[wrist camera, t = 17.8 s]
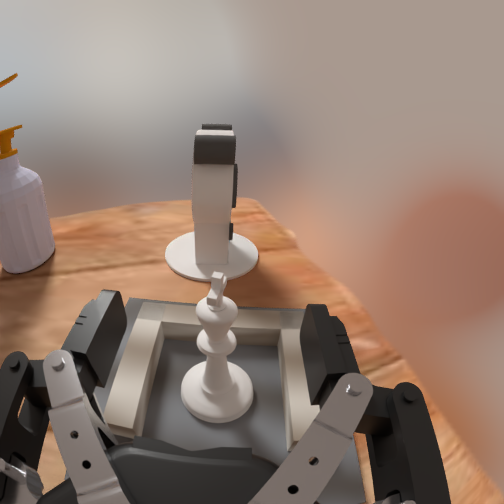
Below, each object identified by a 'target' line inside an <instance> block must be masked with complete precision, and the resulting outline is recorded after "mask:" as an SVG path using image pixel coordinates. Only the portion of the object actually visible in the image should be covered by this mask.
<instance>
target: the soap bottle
mask: <svg viewBox="0 0 504 504" xmlns="http://www.w3.org/2000/svg"><path fill="white" fill-rule="evenodd" d="M17 76H18V75H17V73H16V74H14V75H12V76H10V77H9V78H7V79H5V80H3V81H2V82H0V88H1V87H2V86H4V85H6V84H7V83H9V82H10V81H12V80H13V79H14V78H16V77H17ZM19 128H22V125H18V126H15V127H11V128H8V129H5V130H2V131H0V152H1V153H0V260H1V263H2V266H3V268H4V269H5V270H6V271H7V272H9V273H22V272H26V271H29V270H32V269H34V268H36V267H38V266H39V265H41V264H43V263H44V262H45V261H46V260H47V259H48V258H50V256H51V255H52V253H53V252H54V248H55V242H54V238H53V234H52V230H51V226H50V221H49V217H48V212H47V208H46V203H45V197H44V192H43V185H42V181H41V179H40V177H39V175H38V174H36V173H35V172H33V171H32V170H30V169H27V168H24V167H22V166H20V164H19V159H18V152H17V149H12V148H11V138H13V137H14V130H16V129H19Z"/></svg>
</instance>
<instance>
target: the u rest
mask: <svg viewBox="0 0 504 504" xmlns="http://www.w3.org/2000/svg"><path fill="white" fill-rule="evenodd" d="M196 306H197V304H192V303H180V302H169V301H158V300H148V299H138V298H129V300H128V302H127V304H126V306H125V312H126V316H127V328H126V331H125V334H124V336H123V339H122V341H121V344H120V347H119V349H118V352H117V355H116V357H115V360H114V363H113V366H112V368H111V371H110V374H109V377H108V380H107V383H106V386H105V388H102V387H97V386H96V387H95V390H94V394H95V396H96V398H97V401H98V403H99V406H100V408H101V411H102V413H103V415H104V417H105V420H106V422H107V424H108V426H109V428H110V430H111V432H112V434H113V435H114V437H115V438H116V440H117V442H118V443H119V444H121V443H125V442H133V441H134V436H135V435H136V436H141V437H146V438H151V439H157V440H162V441H165V442H167V443H170V444H173V445H175V446H178V447H181V448H183V449H186V450H189V451H196V450H204V449H211V448H218V447H241V448H252V454H256V455H259V456H262V457H265V458H267V459H269V460H271V461H273V462H275V463H276V464H278V465H279V466H281V464H282V463H283V462H284V460H285V459H286V458H287V457H288V455H289V454H290V453H291V451H292V450H293V449H294V447H295V446H296V445H297V443H298V442H299V440H300V439H301V438H302V436H303V435H304V433H305V432H306V431H307V429H308V428H309V426H310V425H311V423H312V422H313V420H314V419H315V418H316V416H317V415H318V413H319V412H320V408H319V405H311V404H310V398H309V392H308V386H307V380H306V374H305V368H304V363H303V357H302V352H301V346H300V328H301V325H302V321H303V317H304V314H305V310H306V309H284V308H258V307H238V306H237V308H238V314H237V317H236V319H235V321H234V323H233V324H232V325H231V327H230V330H231V331H232V332H233V334H234V335H235V338H236V341H237V344H236V348H235V349H234V351H233V352H232V353H230V354H229V355H227V356H226V357H227V361H228V362H231V363H233V364H235V365H237V366H239V367H240V368H242V369H243V370H244V371H245V372H246V373H247V374H248V376H249V378H250V379H251V382H252V385H253V401H252V404H251V406H250V407H249V409H248V410H247V411H246V412H245V413H244V414H243V415H242V416H241V417H239V418H237V419H235V420H233V421H230V422H225V423H211V422H206V421H203V420H201V419H199V418H197V417H195V416H194V415H193V414H191V413H190V412H189V411H188V410H187V408H186V407H185V405H184V403H183V401H182V398H181V385H182V381H183V378H184V376H185V375H186V373H187V372H188V371H189V370H190V369H191V368H192V367H194V366H195V365H197V364H199V363H201V362H204V361H206V360H207V355H205V354H203V353H202V352H201V351H200V350H199V348H198V346H197V337H198V335H199V333H200V332H201V331H202V330H203V329H204V328H203V326H202V324H201V323H200V321H199V319H198V317H197V315H196ZM69 477H70V476H69V474H68V471H67V470H66V475H65V480H66V479H68V478H69ZM316 501H318V502H319V503H320V504H361V503H364V502H366V499H365V493H364V488H363V482H362V477H361V472H360V466H359V461H358V456H357V452H356V447H355V442H354V437H353V435H352V442H351V444H350V446H349V448H348V450H347V452H346V454H345V455H344V457H343V459H342V461H341V462H340V464H339V466H338V467H337V469H336V470H335V472H334V474H333V475H332V477H331V478H330V480H329V482H328V483H327V485H326V486H325V488H324V489H323V491H322V492H321V494H320V495H319V496H318V498H317V499H316Z"/></svg>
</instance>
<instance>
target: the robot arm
mask: <svg viewBox="0 0 504 504" xmlns="http://www.w3.org/2000/svg"><path fill="white" fill-rule="evenodd" d="M126 328H127V316H126V312H125V308H124V305H123V301H122V297H121V294H120V292H119V291H113V290H105V289H104V290H102V291H101V292H100V294H99V296H98V298H97V299H96V300H91V301H90V302H89V303H88V304H87V305H85V306H84V308H83V309H82V311H81V313H80V315H79V317H78V318H77V320H76V322H75V324H74V325H73V327H72V329H71V331H70V333H69V335H68V336H67V338H66V340H65V342H64V344H63V346H62V348H61V350H55V351H53V352H51V353H50V354H48V355H47V356H46V358H45V360H29V359H28V358H27V356H26V355H25V354H24V353H23V352H19V351H17V352H13V353H11V354H10V355H8V356H7V357H6V359H5V360H4V362H3V364H2V367H1V369H0V504H320V503H319V502H318V501H316V499H317V498H318V496H319V495H320V494H321V492H322V491H323V489H324V488H325V486H326V485H327V483H328V482H329V480H330V478H331V477H332V475H333V474H334V472H335V470H336V469H337V467H338V466H339V464H340V462H341V461H342V459H343V457H344V455H345V454H346V452H347V450H348V448H349V446H350V444H351V442H352V435H353V433H354V432H356V433H363V434H365V435H366V440H367V446H368V452H369V459H370V465H371V472H372V479H373V487H374V495H375V503H373V504H451V500H450V495H449V489H448V484H447V480H446V475H445V470H444V466H443V462H442V458H441V454H440V450H439V446H438V443H437V439H436V435H435V432H434V429H433V425H432V422H431V419H430V415H429V412H428V409H427V406H426V403H425V400H424V397H423V394H422V392H421V390H420V389H419V388H418V387H417V386H416V385H414V384H412V383H409V382H403V383H400V384H398V385H397V386H396V387H395V388H394V389H389V388H383V387H378V386H374V385H372V384H371V382H370V381H369V380H368V379H367V378H366V377H365V376H363V375H361V374H360V371H359V368H358V365H357V362H356V359H355V356H354V353H353V350H352V347H351V344H350V341H349V338H348V336H347V332H346V329H345V326H344V324H343V323H342V322H341V321H340V320H339V319H338V317H337V316H330V315H329V312H328V309H327V306H326V305H325V304H308V305H307V307H306V310H305V314H304V317H303V321H302V325H301V328H300V346H301V352H302V357H303V363H304V368H305V374H306V380H307V386H308V392H309V398H310V404H311V405H319V408H320V412H319V413H318V415H317V416H316V418H315V419H314V420H313V422H312V423H311V425H310V426H309V428H308V429H307V431H306V432H305V433H304V435H303V436H302V438H301V439H300V440H299V442H298V443H297V445H296V446H295V447H294V449H293V450H292V451H291V453H290V454H289V455H288V457H287V458H286V459H285V460H284V462H283V463H282V464H281V466H279V465H278V464H276V463H275V462H273V461H271V460H269V459H267V458H265V457H262V456H259V455H256V454H252V448H241V447H218V448H211V449H204V450H196V451H189V450H186V449H183V448H181V447H178V446H175V445H173V444H170V443H167V442H165V441H162V440H157V439H151V438H146V437H141V436H136V435H135V436H134V441H133V442H125V443H121V444H119V443H118V442H117V440H116V438H115V437H114V435H113V434H112V432H111V430H110V428H109V426H108V424H107V422H106V420H105V417H104V415H103V413H102V411H101V408H100V406H99V403H98V401H97V398H96V396H95V394H94V390H95V387H96V386H97V387H102V388H105V386H106V383H107V380H108V377H109V374H110V371H111V368H112V366H113V363H114V360H115V357H116V355H117V352H118V349H119V347H120V344H121V341H122V339H123V336H124V334H125V331H126ZM23 397H25V400H24V403H23V406H22V408H21V411H20V414H19V417H18V411H19V408H20V405H21V402H22V400H23ZM49 420H50V422H51V425H52V429H53V432H54V435H55V438H56V441H57V444H58V447H59V450H60V453H61V456H62V458H63V461H64V464H65V466H66V469H67V471H68V474H69V476H70V477H69V478H68V479H66V480H65V481H64V482H62V483H61V484H59V485H58V486H56V487H55V488H53V489H52V490H50V491H49V492H47V493H46V494H44V495H43V494H42V491H43V489H44V486H43V484H42V482H41V479H40V476H39V474H38V473H37V469H38V464H39V459H40V455H41V451H42V446H43V442H44V438H45V435H46V431H47V427H48V424H49Z"/></svg>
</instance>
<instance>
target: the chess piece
mask: <svg viewBox="0 0 504 504" xmlns="http://www.w3.org/2000/svg"><path fill="white" fill-rule="evenodd" d="M226 284H227V277H226V276H224V273H220V272H215V271H214V273H213V275H212V276H211V290H210V291H209V293H208V295H207V297H205V298H203V299H202V300H201V301H200V302H199V303H198V304H197V306H196V315H197V317H198V319H199V321H200V323H201V324H202V326H203V328H204V329H203V330H202V331H201V332H200V333H199V335H198V337H197V346H198V348H199V350H200V351H201V352H202V353H203V354H205V355H207V360H206V361H204V362H201V363H199V364H197V365H195V366H194V367H192V368H191V369H190V370H189V371H188V372H187V373H186V375H185V376H184V378H183V381H182V385H181V398H182V401H183V403H184V405H185V407H186V408H187V410H188V411H189V412H190V413H191V414H193V415H194V416H195V417H197V418H199V419H201V420H203V421H206V422H211V423H225V422H230V421H233V420H235V419H237V418H239V417H241V416H242V415H243V414H244V413H245V412H246V411H247V410H248V409H249V407H250V406H251V404H252V401H253V385H252V382H251V379H250V378H249V376H248V374H247V373H246V372H245V371H244V370H243V369H242V368H240V367H239V366H237V365H235V364H233V363H231V362H228V361H227V357H226V356H227V355H229V354H230V353H232V352H233V351H234V349H235V348H236V344H237V341H236V338H235V335H234V334H233V332H232V331H231V330H230V327H231V325H232V324H233V323H234V321H235V319H236V317H237V314H238V308H237V306H236V304H235V303H234V302H233V301H232V300H231V299H229V298H227V297H225V296H223V291H224V289H225V287H226Z"/></svg>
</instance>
